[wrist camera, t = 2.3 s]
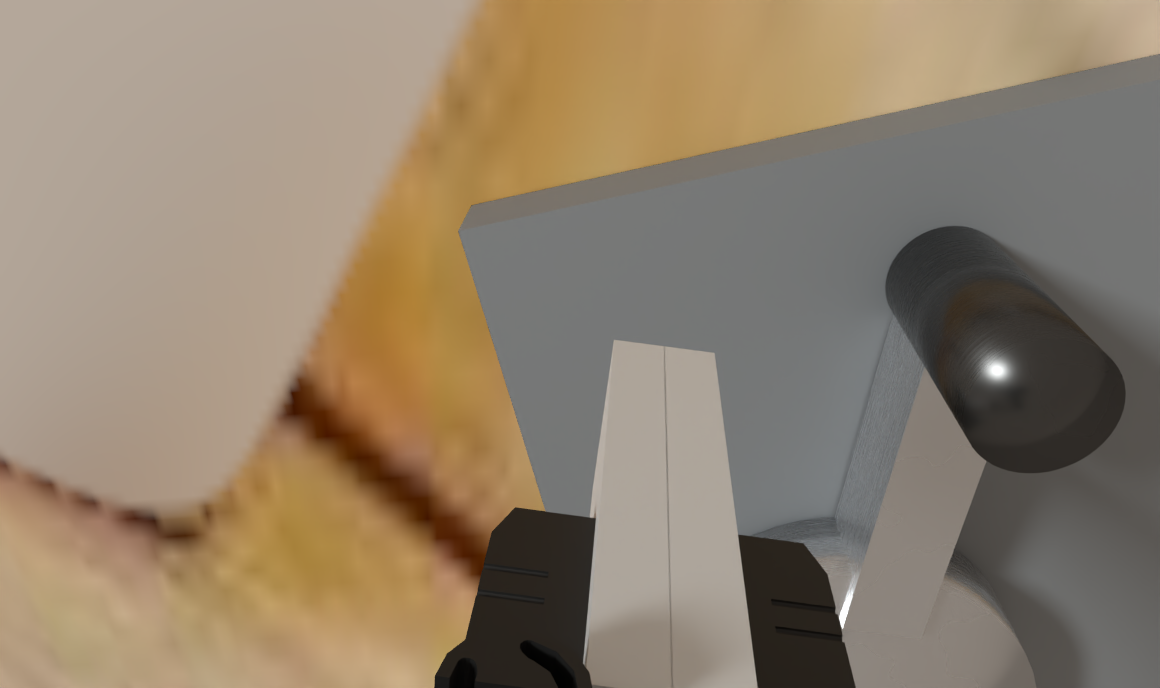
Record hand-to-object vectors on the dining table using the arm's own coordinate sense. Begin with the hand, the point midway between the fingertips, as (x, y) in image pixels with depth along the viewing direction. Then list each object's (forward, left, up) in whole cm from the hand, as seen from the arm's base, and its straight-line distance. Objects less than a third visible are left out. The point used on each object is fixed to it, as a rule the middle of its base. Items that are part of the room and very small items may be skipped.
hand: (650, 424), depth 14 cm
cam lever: (+4, -10, -9) cm, 14 cm away
